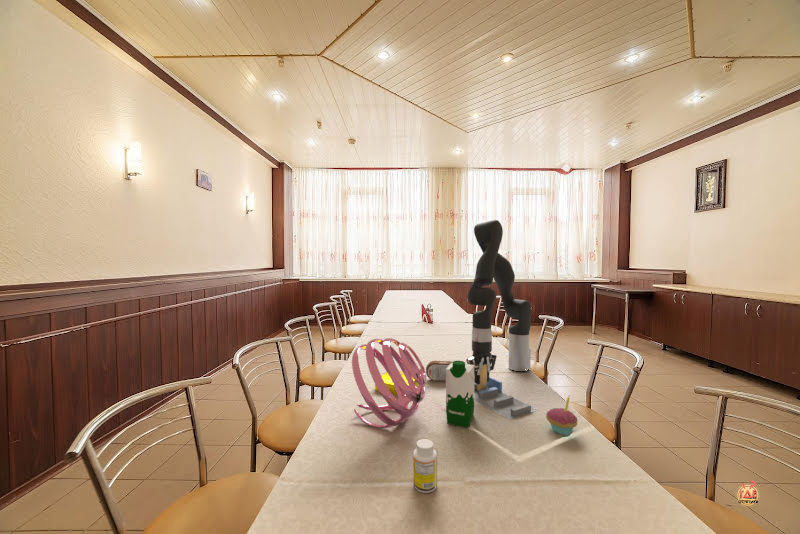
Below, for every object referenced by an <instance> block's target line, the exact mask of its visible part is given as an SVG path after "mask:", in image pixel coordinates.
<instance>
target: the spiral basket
mask: <svg viewBox="0 0 800 534" xmlns="http://www.w3.org/2000/svg"><path fill="white" fill-rule="evenodd" d="M375 343H377V344H379V345H381V349H382V352H380V351H379V350H378V349H377V348H376V347H374V345H375ZM391 343H393V344H395V345H396V347H398V351H399V353H398V352H397V350H395V349H394V347H393V346H392V345H391ZM407 349H408V350H407ZM360 350H363V351H365V357H366V358H365V359H366V364H367V367H368V370H369V373H370V375H371V377H372V381H373V382H374V385H375V384H376V386H377V388H378V390H379V393H380V395H381V396H382V398H383V399H384V400H385V401H386V403H387V404H384V405H378V404H377V402H376V401H375V399H374V398H373V397H372V395H371V393H370V392H369V390H368V387H367V385H366V383H365V380H364V378H363V375H362V373H361V372H362V371H361V368H360V362H359V353H360ZM411 354H412V355H413V356H412V355H411ZM413 357H414V358H415V359H414V358H413ZM375 358H376V359H375ZM376 360H377V361H378V362H379V363H380V364H381V366H382V367H383V368H384V370H385V372H387V373H388V374H389V376H390V378H391V380H392V382H393V384H394V386H395V389H396V391H397V394H398V395H397V398H398V399H396V397H395V396H394V394H392V393H391V392H390V390H389V389H388V387H387V386H386V384H385V382H384V380H383V379H382V377H381V376H382V375H381V373H380V370H379V368H378V365H377V362H376ZM415 360H416V361H417V362H416V361H415ZM395 361H396V363H397V365H398V366H399V368H400V370H401V371H402V372H403V373H404V375H405V377H406V380H407V382H408V384H409V385H408V384H407V383H406V382H405V380H404V379H403V377H402V376H401V374H400V372H399V371H400V370H399V368H398V367H397V365H396V363H395ZM351 369H352V372H353V373H352V374H353V377H354V381H355V383H356V387H357V389H358V390H359V393H360V395H361V396H362V398H363V400H364V402H365V403H366V405H363V404H359V403H358V404H357V405H356V406H357V407H359V408H362V409H364V410H367V411H371V412H372V413H373V414H374V415H375V417H377V419H379V420H380V421H381V422H382V423H385V424H377V423H376V424H375V423H373V422H370V421H369V420H367V419H365V418H364V417H363V416H362V415H361V414H360V413H359V411H358V410H357V409H356V408H354V409H353V412H354V413H355V415H356V417H357V418H358V419H359V420H361V422H363V424H366V425H367V426H368V427H372V428H376V429H388V428H393V427H397V426H400V425H401V424H403V423H404V422H405V421H406V420H407V419H409V418H411V417H412V416H413V415H415V414H416V412H417V411H418V409H419V404H420V403H421V402H422V401H423V400H424V399H425V395H426V384H427V374H426V368H425V367H424V365H423V363H422V360H421V359H420V357H419V356H418V355H417V353H416V352H415V351H414V349H413V348H412V347H411V346H410V345H408V344H407V343H404V342H400V341H399V340H397V339H395V338H391V337H389V338H388V337H387V338H384V339H381V338H373V339H371V340H369V341H368V342H367V343H365V344H364V343H363V344H361V345H359V346H358V347H356V348H355V349H354V351H353V353H352V356H351ZM412 377H413V378H412ZM413 379H414V380H415V381H416V382H417V383H418V384H419V385H418V387H416V386H415V383H414V381H413ZM411 402H412V404H411V406H409V408H408V405H409V403H411ZM391 410H392V411H395V412H396V413H397V414H398V415H400V416H399V418H398V419H392V418H391V417H390V416H388V415H387V414H386V413H385V412H386V411H391Z"/></svg>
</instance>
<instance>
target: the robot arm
mask: <svg viewBox="0 0 800 534" xmlns="http://www.w3.org/2000/svg"><path fill="white" fill-rule="evenodd" d="M503 231H504V230H503V226H502V223H501V222H500V221H499V220H498V219H491V220H488V221H484V222H479V223H477V224H475V225H474V227H473V232H474V233H473V234H474V237H475V240H476V242H477V244H478V246H479V248H480V249H481V251H482V254H481V256H480V257H479V259H478V261H477V263H476V267H475V276H474V279H473V281H472V284H471V286H470V287H469V290H468V291H467V301H468V303H469V304H470V305H472V306H483V307H485V309H484V310H478V311H474V312H473V313H472V330H471V350H472V356H471V357H470V358H466V364H470V365H474V376H475V378H474V382H475V383H476V384H480V375H479V374H480V369H482V365H483V364H487V382H489V377H490V373H491V371H494V369H495V366H496V361H497V356H498V355H497V354H493V353H492V349H493V348H492V347H493V343H492V341H493V338H492V337H493V332H492V314H493V310H494V306H495V302H496V300H497V292H496V290H495V289H494V288H493V287H485V286H489V285H491V284H493V281H494V282H495V284H496V287H497V289H498V292H499V295H500V298H501V301H502V305H503V308H504V312H505V315H507V317H509V318H510V319H516V320H517V324H514V325H510V326H509V327H508V369H509V370H510V369H511V370H510V371H512V370H514V371H513V372H516V371H526V370H527V369H529V370H531V349H530V329H531V326H532V322H531V321H532V312H533V311H532V310H533V309H532V305H531V303H530V301H528V300H525V299H516V298H515V297H514V294H513V286H514V283H515V280H516V279H515V278H516V275H515V271H514V269H513V266H512V264H511V262H510V261H509V260H508V259H507V258H506V257H504V256H503V255H501V254H500V253H499V250H500V246H501V243H502V240H503V233H504V232H503ZM476 364H477V365H479V366H477V365H476ZM525 369H526V370H525ZM476 370H477V371H476Z"/></svg>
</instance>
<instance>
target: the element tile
mask: <svg viewBox="0 0 800 534" xmlns="http://www.w3.org/2000/svg"><path fill="white" fill-rule="evenodd" d="M399 372H400V374H401V376H402V377H403V379H404V380H405V382H406V383H407V384H408V382H407V380H406V377H405V375H404V373H403V372H402V370H401V371H400V370H399ZM381 377H382V379H383V380H384V382H385V384H386V386H387V387H388V389H389V390H390V392H391V393H392V395H394V394H395V396H398V394H397V391H396V389H395V386H394V384H393V382H392V380H391V378H390V376H389V374H388V373H387V371H385V373H384V374H383V373H382V375H381ZM412 378H413V377H412ZM413 381H414V383H415V386H416V387H418V385H419V384H418V383H417V382H416V381H415V380H414V379H413ZM408 385H409V384H408ZM376 390H377V391H376ZM374 391H376V392H378V391H379V390H378V388H377V386H376V384H375V383H374Z"/></svg>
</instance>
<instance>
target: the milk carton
mask: <svg viewBox="0 0 800 534" xmlns="http://www.w3.org/2000/svg"><path fill="white" fill-rule="evenodd" d="M474 378H475V376H474V365H470V364H467V363H466V362H465V361H464V360H454V361H452V363H451V364H450V365H449V366H448V367H447V368H446V381H445V413H446V424H449V425H453V426H457V427H462V428H466V429H468V428H469V427H470V425H471V422H472V419H473V417H474V413H475V400H474Z"/></svg>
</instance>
